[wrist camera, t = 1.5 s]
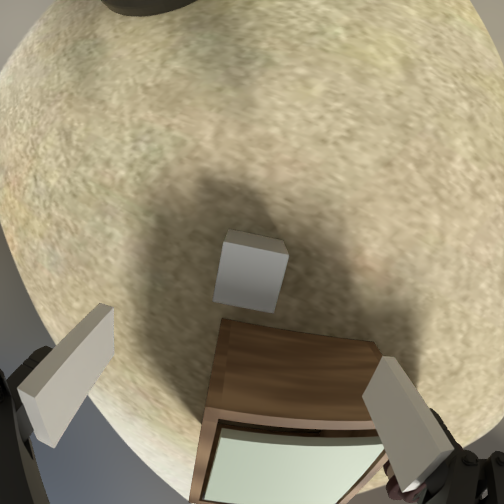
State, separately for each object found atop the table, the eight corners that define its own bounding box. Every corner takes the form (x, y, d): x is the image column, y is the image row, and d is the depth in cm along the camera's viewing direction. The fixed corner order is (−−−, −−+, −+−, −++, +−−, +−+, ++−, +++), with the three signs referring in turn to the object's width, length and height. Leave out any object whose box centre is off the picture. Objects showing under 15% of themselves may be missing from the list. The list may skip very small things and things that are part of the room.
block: (228, 228, 27) (223, 241, 22) (282, 240, 27) (289, 255, 22) (219, 279, 28) (212, 301, 23) (270, 289, 28) (273, 313, 24)
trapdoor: (219, 427, 19) (218, 436, 18) (386, 435, 20) (389, 443, 19) (202, 493, 22) (201, 500, 21) (332, 499, 23) (333, 506, 22)
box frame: (221, 318, 29) (205, 406, 17) (373, 341, 30) (420, 417, 18) (201, 424, 34) (188, 502, 21) (323, 437, 34) (339, 509, 22)
